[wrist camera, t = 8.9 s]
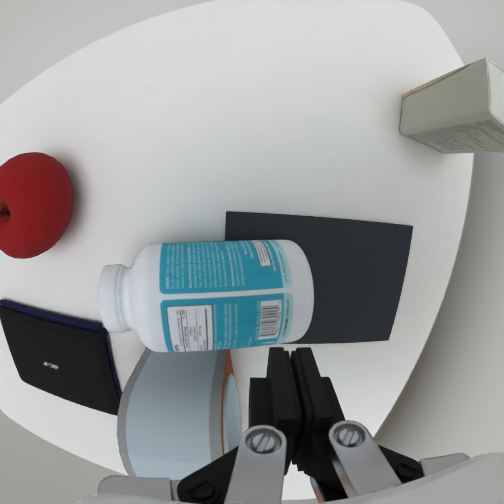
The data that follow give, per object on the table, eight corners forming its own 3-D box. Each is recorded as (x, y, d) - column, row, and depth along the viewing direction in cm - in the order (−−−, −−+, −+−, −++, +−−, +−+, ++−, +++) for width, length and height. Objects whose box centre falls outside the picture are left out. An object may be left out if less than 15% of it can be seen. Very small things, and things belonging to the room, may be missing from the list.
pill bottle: (277, 251, 24) (120, 255, 22) (312, 226, 17) (92, 229, 14) (284, 337, 23) (123, 345, 20) (323, 346, 16) (93, 359, 13)
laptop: (-1, 278, 24) (-10, 283, 22) (123, 328, 25) (116, 338, 23) (18, 370, 28) (12, 377, 26) (127, 421, 29) (123, 432, 27)
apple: (41, 143, 21) (-29, 139, 11) (101, 170, 22) (27, 171, 12) (21, 224, 23) (-44, 245, 13) (75, 259, 24) (9, 297, 14)
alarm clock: (245, 434, 29) (244, 526, 16) (179, 433, 29) (160, 518, 16) (231, 341, 26) (219, 459, 13) (148, 342, 26) (93, 442, 13)
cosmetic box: (449, 116, 20) (536, 100, 8) (446, 156, 21) (539, 156, 9) (400, 92, 20) (486, 52, 8) (396, 134, 21) (491, 113, 9)
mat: (411, 225, 23) (413, 226, 23) (387, 339, 26) (388, 340, 26) (226, 211, 23) (226, 211, 22) (223, 339, 26) (223, 341, 25)
